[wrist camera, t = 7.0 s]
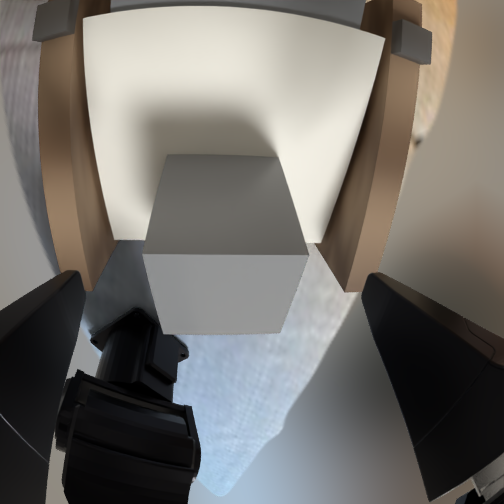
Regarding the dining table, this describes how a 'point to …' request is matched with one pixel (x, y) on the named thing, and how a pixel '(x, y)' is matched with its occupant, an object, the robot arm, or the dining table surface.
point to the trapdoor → (227, 95)
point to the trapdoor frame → (353, 187)
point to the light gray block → (223, 245)
